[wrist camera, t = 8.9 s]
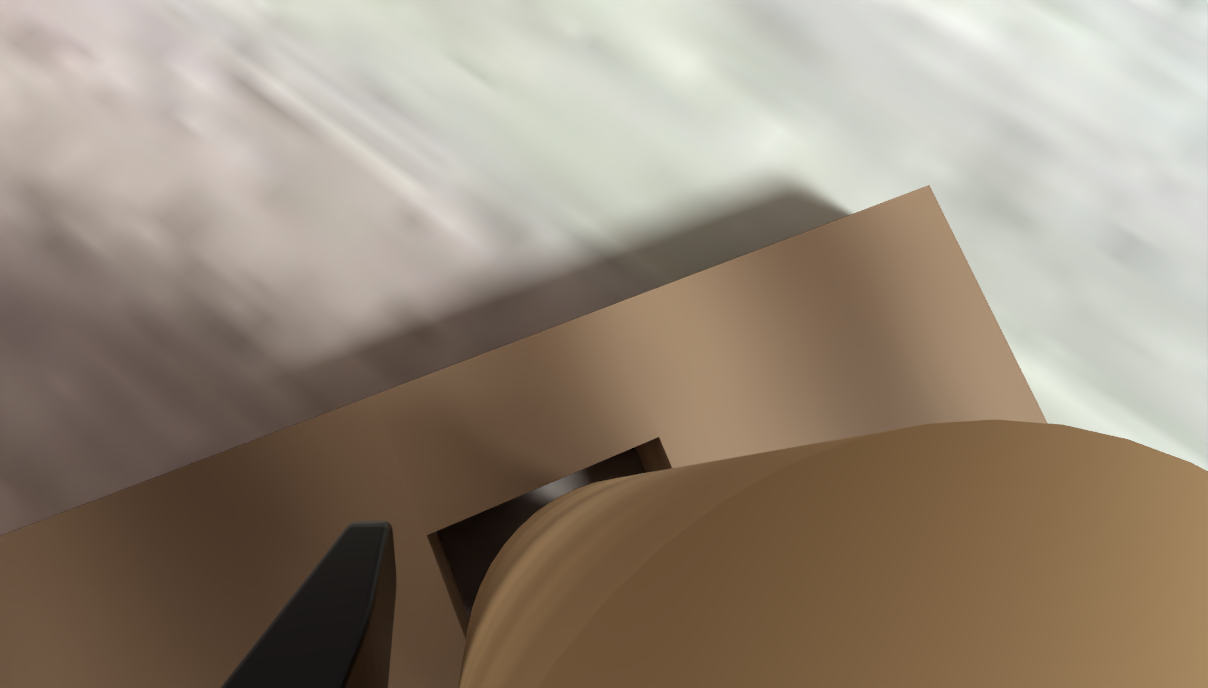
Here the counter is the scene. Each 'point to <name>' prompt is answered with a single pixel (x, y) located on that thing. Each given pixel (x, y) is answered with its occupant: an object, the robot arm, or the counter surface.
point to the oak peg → (863, 570)
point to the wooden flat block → (509, 450)
